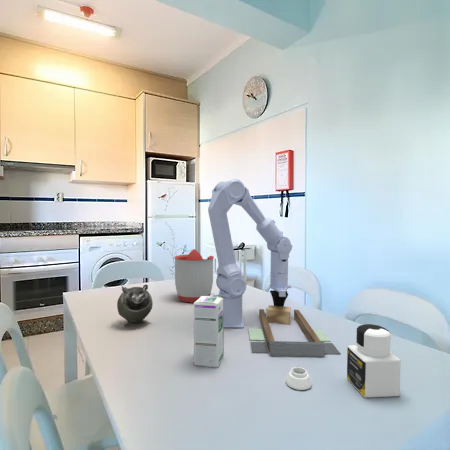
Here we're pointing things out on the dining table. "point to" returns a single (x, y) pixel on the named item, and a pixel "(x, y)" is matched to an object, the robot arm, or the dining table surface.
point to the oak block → (278, 314)
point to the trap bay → (294, 348)
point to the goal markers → (259, 336)
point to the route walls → (300, 320)
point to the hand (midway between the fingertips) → (278, 312)
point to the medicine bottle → (373, 363)
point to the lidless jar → (298, 379)
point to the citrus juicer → (193, 276)
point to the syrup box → (208, 331)
